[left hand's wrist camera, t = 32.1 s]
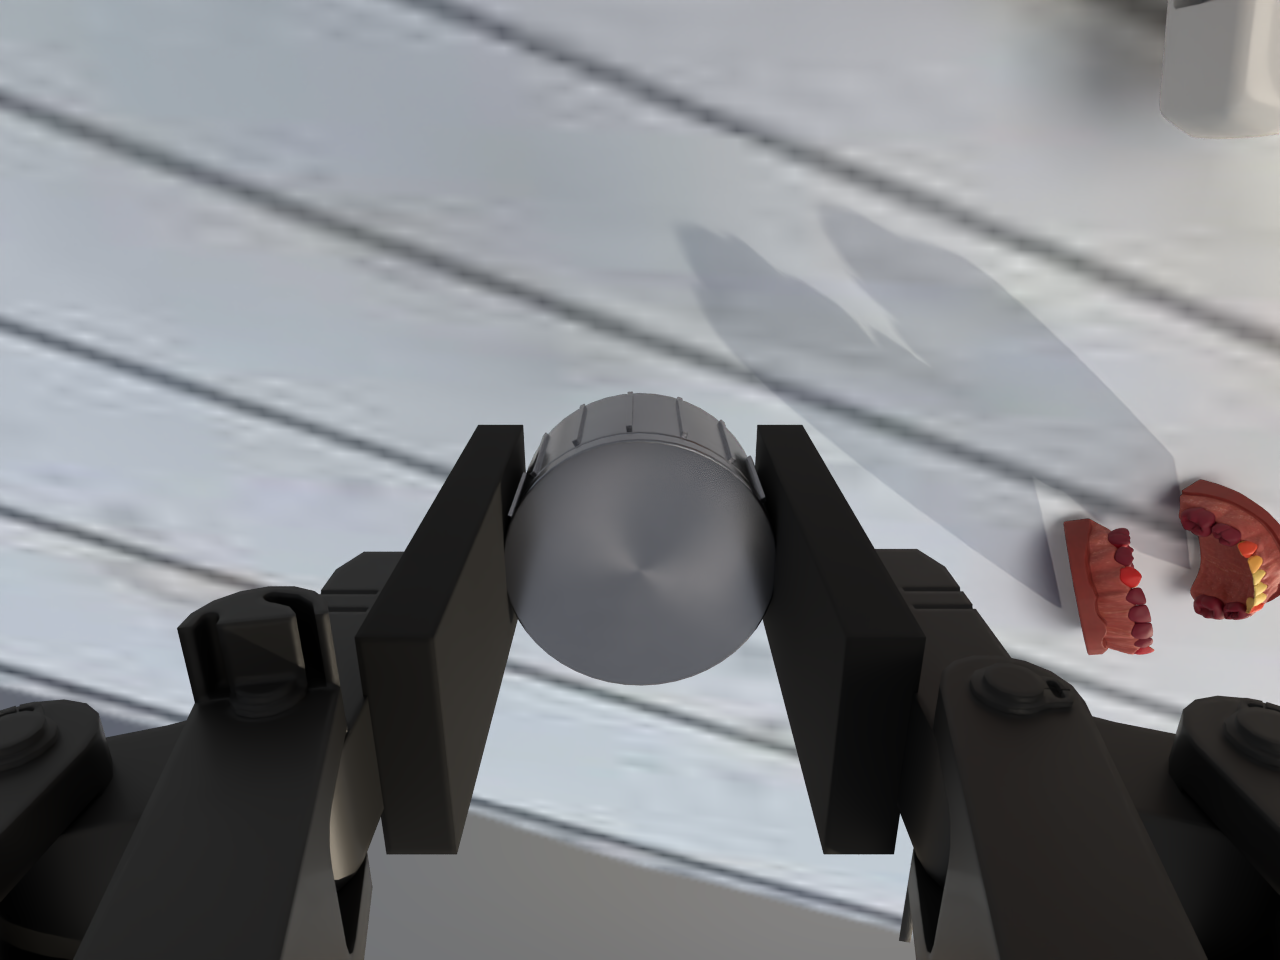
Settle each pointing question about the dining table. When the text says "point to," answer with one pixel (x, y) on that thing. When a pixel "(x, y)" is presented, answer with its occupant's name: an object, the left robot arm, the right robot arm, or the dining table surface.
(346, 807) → the left robot arm
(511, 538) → the cap
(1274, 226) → the dining table surface
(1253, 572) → the dental model
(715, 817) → the dining table surface
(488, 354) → the dining table surface
